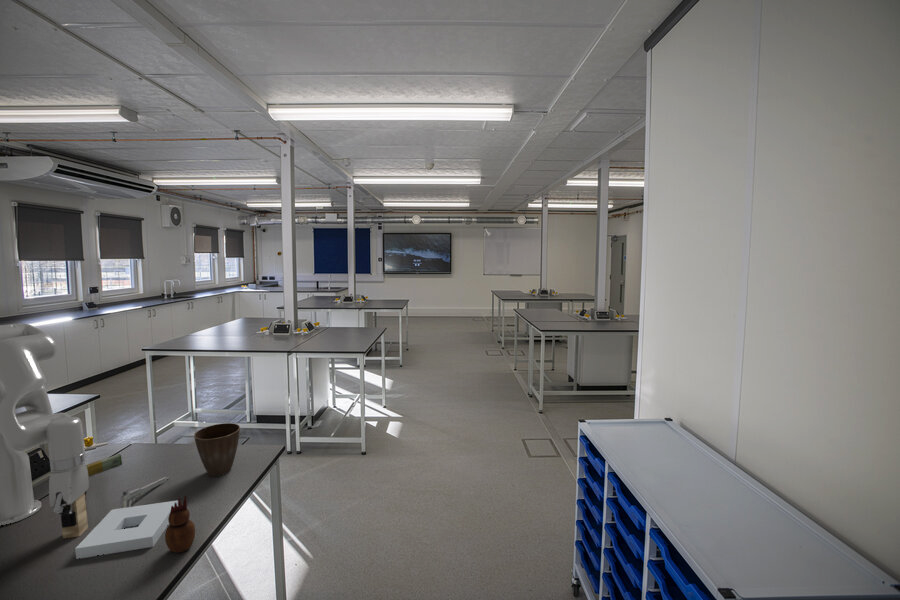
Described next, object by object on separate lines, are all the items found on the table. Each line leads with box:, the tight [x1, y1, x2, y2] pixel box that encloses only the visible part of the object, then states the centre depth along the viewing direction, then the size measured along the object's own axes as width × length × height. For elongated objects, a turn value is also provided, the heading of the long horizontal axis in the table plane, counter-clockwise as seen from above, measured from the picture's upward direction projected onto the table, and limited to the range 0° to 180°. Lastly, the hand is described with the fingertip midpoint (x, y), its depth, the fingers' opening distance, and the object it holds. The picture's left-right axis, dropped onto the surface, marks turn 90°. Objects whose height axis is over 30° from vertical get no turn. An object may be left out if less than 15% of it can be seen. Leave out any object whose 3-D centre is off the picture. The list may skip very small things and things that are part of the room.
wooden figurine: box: [164, 494, 196, 554], centre depth 113 cm, size 7×6×15 cm
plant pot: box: [193, 422, 241, 477], centre depth 155 cm, size 15×15×16 cm
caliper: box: [120, 476, 170, 508], centre depth 141 cm, size 20×1×6 cm, turn 178°
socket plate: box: [74, 499, 178, 560], centre depth 121 cm, size 18×18×3 cm
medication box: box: [86, 453, 123, 477], centre depth 158 cm, size 12×3×4 cm, turn 148°
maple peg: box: [60, 493, 89, 539], centre depth 120 cm, size 4×4×12 cm
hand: (74, 520), depth 121 cm, fingers closed on maple peg, 4 cm apart
